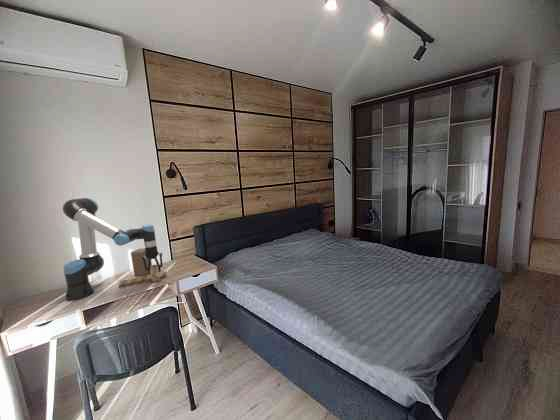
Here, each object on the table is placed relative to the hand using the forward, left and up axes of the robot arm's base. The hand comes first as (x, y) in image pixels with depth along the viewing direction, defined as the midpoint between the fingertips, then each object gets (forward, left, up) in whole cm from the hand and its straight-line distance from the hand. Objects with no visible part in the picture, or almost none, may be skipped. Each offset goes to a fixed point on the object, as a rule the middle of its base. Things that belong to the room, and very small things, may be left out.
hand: (155, 277), depth 186 cm
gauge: (0, +4, -2) cm, 4 cm away
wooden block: (-10, +26, -4) cm, 28 cm away
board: (-9, +9, -3) cm, 13 cm away
